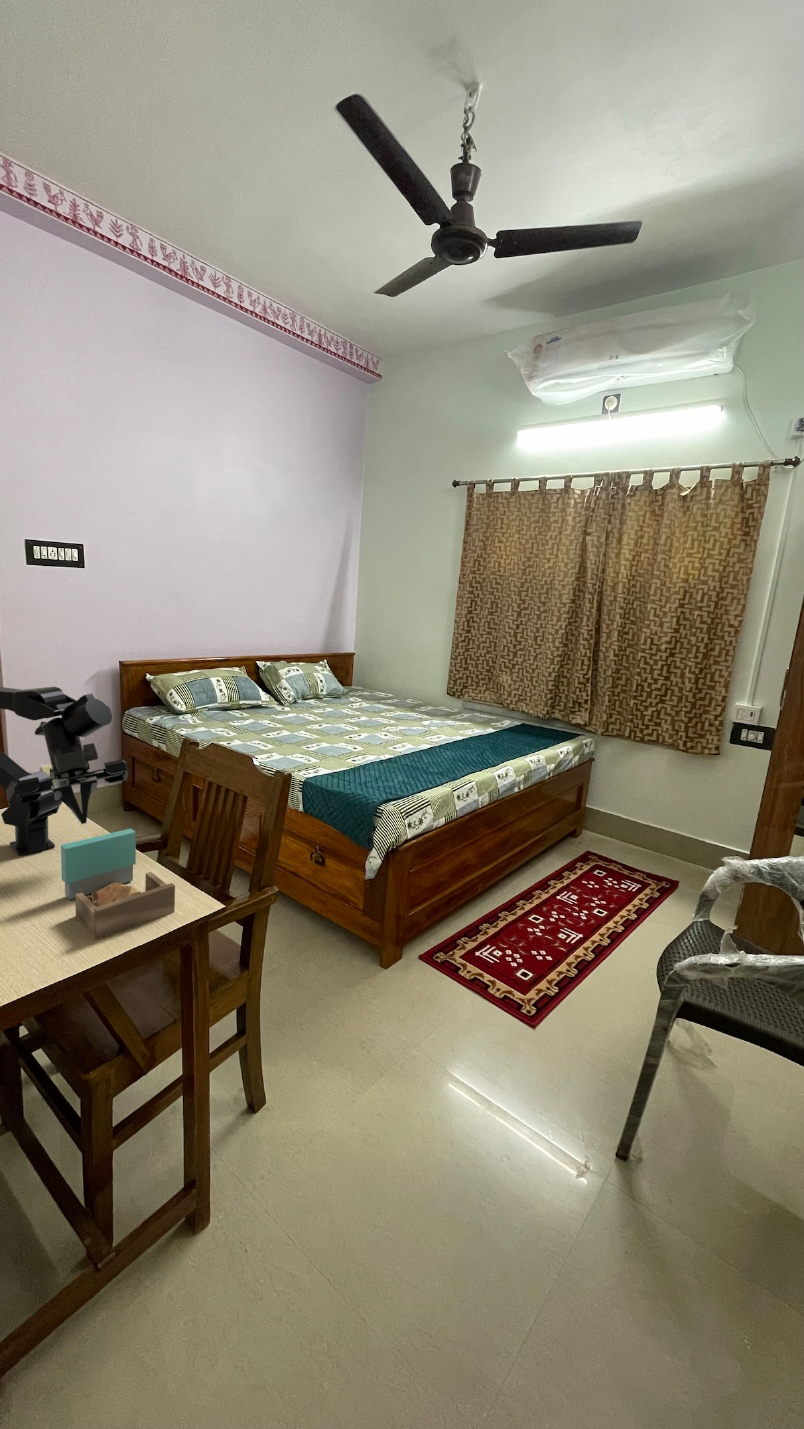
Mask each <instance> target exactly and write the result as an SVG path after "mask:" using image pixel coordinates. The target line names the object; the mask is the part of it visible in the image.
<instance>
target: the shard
mask: <svg viewBox="0 0 804 1429" xmlns="http://www.w3.org/2000/svg"><path fill="white" fill-rule="evenodd" d="M139 893H142V892H141V891H140V890H138V889H137V888H135V887H132V886H130V885H126V884H125V883H123V884H120V883H118V882H114V883H112V884H110V885H108V886H106V887H104V888H102V889H100V890H98V891H95V892H92V893H91V898H92V899H91V900H92V901H91V902H92V903H93V904H94V905H95V906H96V907H99V906H102V905H105V904H108V903H111V902H114V901H117V900H121V899H124V898H127V897H130V896H133V895H136V894H139Z"/></svg>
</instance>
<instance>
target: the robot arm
mask: <svg viewBox="0 0 804 1429" xmlns="http://www.w3.org/2000/svg"><path fill="white" fill-rule="evenodd" d="M0 710H6V711H11V712H13V713H14V714H15V715H16V716H18V717H21V718H24V719H27V720H30V721H38V720H44V719H50V720H48V721H40V724H39V726H38V727H37V728H36V729H35V732H34V735H35V736H44V739H45V743H46V747H47V748H46V749H47V752H48V756H49V759H50V765H51V768H52V772H53V776H54V778H53V777H51V776H50V775H49V774H48V773H47V772H46V771H44V770H39V771H36V772H33V773H31V772H29V771H26V770H25V769H24V768H23V767H22V766H20V765H19V764H18V763H17V762H15V761H14V760H13V759H12V758H11V757H10V756H8V755H7V754H6V753H4V752H3V751H2V750H1V749H0V787H1V788H3V790H4V791H5V792H6V795H5V796H6V799H7V800H6V801H7V803H8V805H9V806H8V807H7V808H6V809H5V810H4V811H3V812H1V814H0V815H1V818H2V821H3V824H5V825H9V826H13V827H14V834H15V835H14V836H15V838H14V839H15V840H14V841H11V842H9V846H10V847H11V848H12V850H13V851H14V852H15V853H16V854H17V856H23V855H29V854H33V853H37V852H42V851H46V850H50V849H54V848H55V847H56V845H55V844H56V843H54V842H53V841H52V840H50V839H49V816H53V815H55V814H58V811H59V808H60V806H61V805H62V803H64V804H65V805H66V806H67V807H68V809H70V811H71V812H72V813H73V815H74V816H75V818H76V819H77V820H78V821H79V823H80V824H81V825H85V824H87V820H88V812H89V811H88V809H89V803H90V798H91V794H92V793H93V792H96V791H97V789H98V781H99V780H100V781H101V780H104V782H106V783H108V784H113V783H118V782H123V781H126V780H127V779H128V775H129V771H130V770H129V767H128V763H127V761H125V760H124V759H117V760H113V761H109V762H108V761H107V762H104V763H103V765H102V769H101V768H100V769H96V770H93V771H89V770H90V763H89V762H92V761H96V760H98V759H99V755H98V750H97V748H96V745H95V743H94V742H93V743H87V744H83V745H82V740H81V738H87V737H89V736H90V735H92V734H94V733H96V732H97V731H100V730H101V729H102V728H105V727H106V726H107V725H109V724H111V723H112V720H113V714H112V710H111V709H110V706H108V705H106V704H105V702H103V701H102V700H100V699H98V698H96V697H95V696H94V694H92V693H88V694H84V695H82V696H80V697H79V698H78V699H77V700H76V699H74V698H73V697H71V696H69V695H67V694H65V693H64V692H63V690H62V689H61V688H60V687H57V686H47V687H36V688H26V689H21V688H11V687H3V686H0ZM60 716H61V717H60ZM51 718H52V719H51ZM74 786H79V799H80V805H79V804H78V801H77V798H76V796H75V793H74V792H75V791H74V790H73V787H74Z"/></svg>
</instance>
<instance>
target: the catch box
mask: <svg viewBox="0 0 804 1429" xmlns="http://www.w3.org/2000/svg"><path fill="white" fill-rule="evenodd" d="M175 897H176V885H175V884H173V882H171V883H167V882H165V881H163V880H162V879H161V878H159V877H158V876H157V875H156V874H155V873H153V872H152V871H149V872H146V873H145V890H144V891H143V892H141V893H139V894H136V895H133V896H130V897H127V898H124V899H121V900H117V901H114V902H111V903H108V904H105V905H102V906H99V907H96V906H95V905H94V904H93V902H92V901H91V900H90V899H89V898H88V897H87V896H86V895H84V894H83V893H78V894H75V898H74V900H75V917H76V918H77V920H79V922H81V924H82V925H83V926H84V927H85V928H86V929H87V931H89V933H90V934H91V935H93V937H94V938H95V939H96V940H97V941H99V940H101V939H103V938H106V937H109V936H111V935H115V934H117V933H120V932H123V931H126V930H129V929H131V928H133V927H136V926H139V925H141V924H145V923H147V922H149V921H153V920H155V919H158V918H161V917H164V916H167V915H169V914H172V913H175V909H176V908H175V904H176V903H175V899H176V898H175Z"/></svg>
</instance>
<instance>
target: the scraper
mask: <svg viewBox="0 0 804 1429" xmlns="http://www.w3.org/2000/svg"><path fill="white" fill-rule="evenodd" d="M136 833H137V832H136V831H135V830H134V829H132V828H127V829H123V830H119V831H115V832H110V833H106V834H101V835H97V836H92V837H90V838H85V839H81V840H76V841H72V842H68V843H63V844H60V857H61V859H60V860H61V862H60V864H61V865H60V867H61V871H60V872H61V880H62V881H63V882H64V895H65V897H66V898H67V899H68V900H72V899H75V894H78V893H83V894H84V895H85V896H86V895H89V894H92V892H95V891H98V890H100V889H102V888H104V887H106V886H108V885H110V884H112V883H114V882H118V883H120V884H126V883H129V882H132V881H134V865H136V863H137V862H136V861H137V860H136V858H137V857H136V856H137V853H136V849H137V848H136V846H137V844H136V843H137V842H136V841H137V837H136V835H137V834H136Z"/></svg>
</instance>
